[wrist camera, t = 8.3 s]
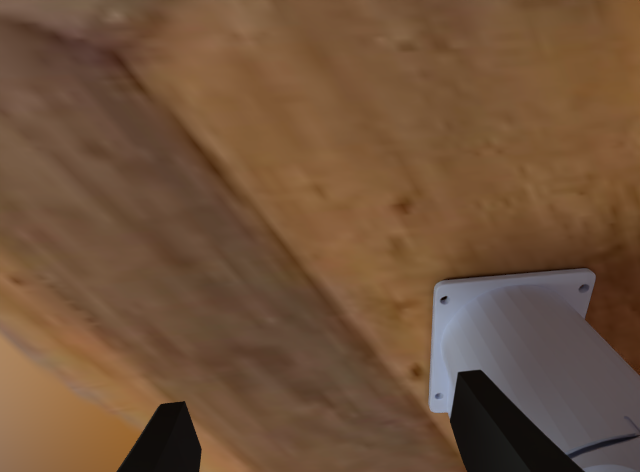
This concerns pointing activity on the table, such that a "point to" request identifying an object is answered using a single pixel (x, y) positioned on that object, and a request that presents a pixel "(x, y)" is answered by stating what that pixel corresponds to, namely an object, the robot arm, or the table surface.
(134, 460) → the robot arm
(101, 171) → the table surface
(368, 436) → the table surface
